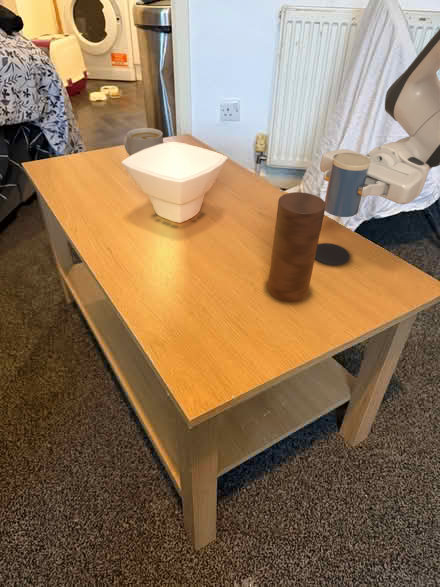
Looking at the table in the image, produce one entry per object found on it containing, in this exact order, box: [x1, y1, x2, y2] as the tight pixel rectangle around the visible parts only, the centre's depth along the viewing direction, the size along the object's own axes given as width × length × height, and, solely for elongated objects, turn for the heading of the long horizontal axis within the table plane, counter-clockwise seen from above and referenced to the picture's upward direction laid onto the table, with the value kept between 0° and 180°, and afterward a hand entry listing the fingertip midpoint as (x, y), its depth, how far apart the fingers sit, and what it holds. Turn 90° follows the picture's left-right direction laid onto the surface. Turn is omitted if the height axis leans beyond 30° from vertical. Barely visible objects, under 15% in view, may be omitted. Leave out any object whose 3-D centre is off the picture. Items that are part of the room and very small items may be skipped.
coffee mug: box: [123, 127, 164, 157], centre depth 119 cm, size 13×10×10 cm
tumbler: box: [324, 153, 371, 218], centre depth 77 cm, size 7×7×10 cm
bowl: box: [121, 140, 229, 224], centre depth 95 cm, size 19×19×14 cm
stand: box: [267, 191, 326, 303], centre depth 72 cm, size 8×8×18 cm
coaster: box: [314, 242, 350, 267], centre depth 87 cm, size 8×8×1 cm
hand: (343, 184), depth 77 cm, fingers closed on tumbler, 6 cm apart
